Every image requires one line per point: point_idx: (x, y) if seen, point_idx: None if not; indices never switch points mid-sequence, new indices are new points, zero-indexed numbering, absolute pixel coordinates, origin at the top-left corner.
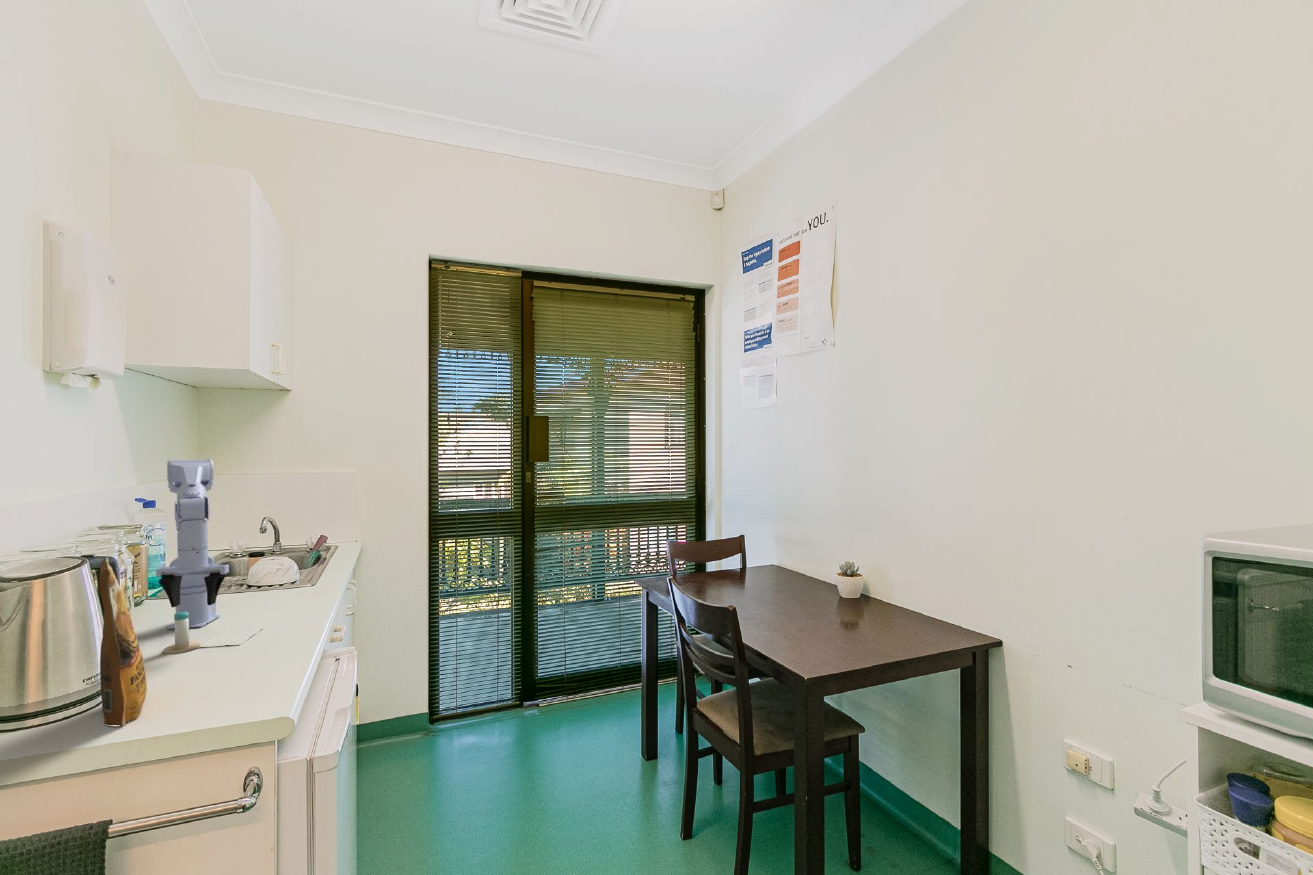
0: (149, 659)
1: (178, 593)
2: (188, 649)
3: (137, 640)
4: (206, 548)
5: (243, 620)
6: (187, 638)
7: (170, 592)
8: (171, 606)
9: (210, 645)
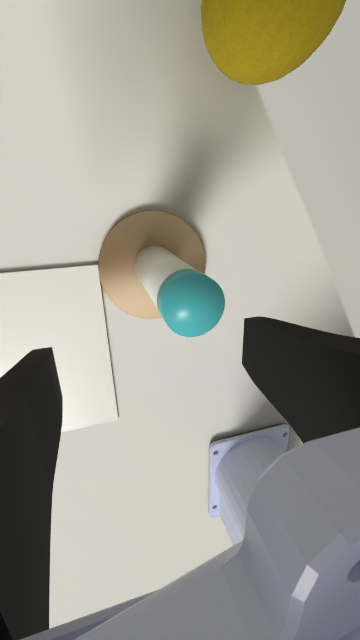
0: (201, 163)
1: (284, 401)
2: (111, 233)
3: (243, 14)
4: None
5: (125, 501)
6: (139, 271)
7: (322, 343)
8: (261, 317)
9: (59, 279)
